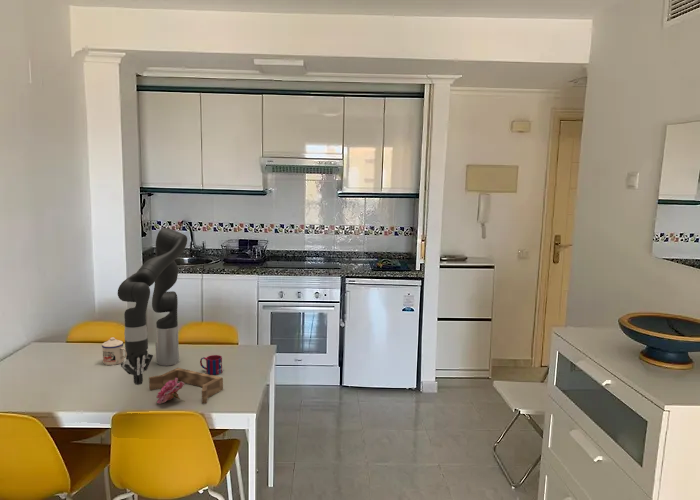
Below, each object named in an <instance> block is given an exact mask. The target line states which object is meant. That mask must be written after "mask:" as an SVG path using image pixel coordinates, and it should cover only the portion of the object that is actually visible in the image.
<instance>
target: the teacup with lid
mask: <svg viewBox="0 0 700 500" xmlns="http://www.w3.org/2000/svg"><path fill="white" fill-rule="evenodd" d="M101 347H102V362H103V364H104V365H105V366H116V365H119V364H120V365H121V364H122V363H124V362H125V360H124V359H126V356H127V352H126V351H125V347H124V342H123V340H119V339H116V338H115V337H110V338H109V339H108V340H107V341H104V342H103V343H101ZM124 353H125V354H124Z"/></svg>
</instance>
